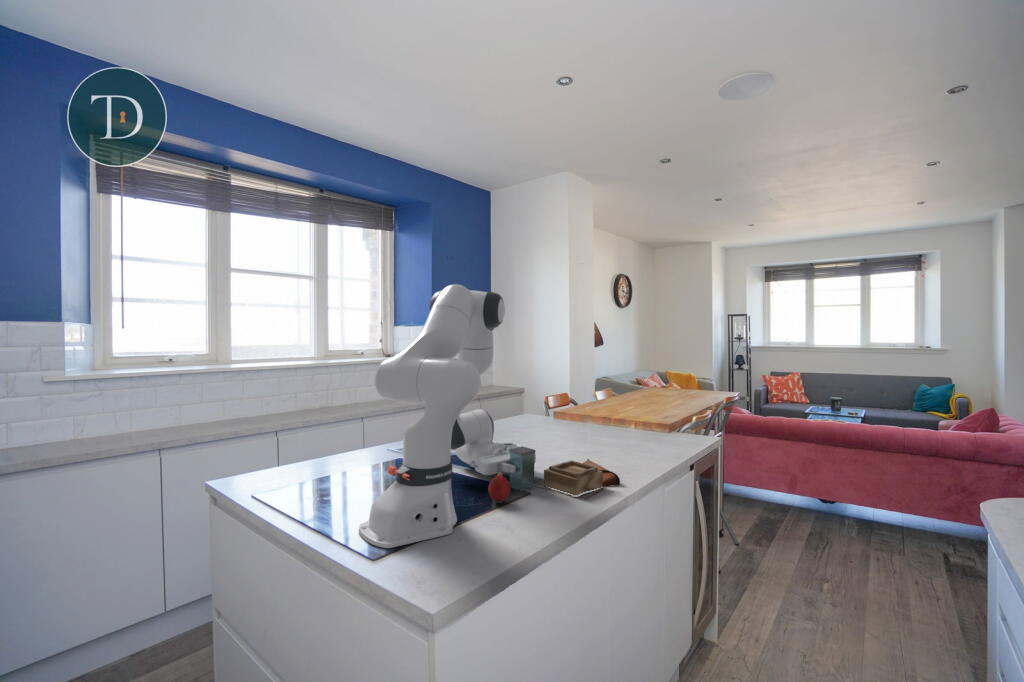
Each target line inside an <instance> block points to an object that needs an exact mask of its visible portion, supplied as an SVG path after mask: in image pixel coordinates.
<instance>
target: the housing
mask: <svg viewBox="0 0 1024 682" xmlns="http://www.w3.org/2000/svg"><path fill="white" fill-rule="evenodd" d="M509 452H510V465H517V466H518V471H517V472H514V473H513V472H509V484H510V487H511V488H512V489H514V490H516V491H519V490H520V492H524V490H525V491H527V490H531V489H533V487H534V488H535V464H534V453H535V454H536V449H535V448H530V447H526V446H523V445H522V446H518V447H517V448H513V449H509Z"/></svg>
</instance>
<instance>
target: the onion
mask: <svg viewBox="0 0 1024 682" xmlns="http://www.w3.org/2000/svg"><path fill="white" fill-rule="evenodd" d="M487 488H488V489H487V490H488V494H489V497H490V498H491V499H492V500H493V501H495V502H496V503H498V502H501V503H503V501H505V500H506V499H507V498H509V496H510V494H511V490H512V489H511V487H510V481H509V480H507V478H506V477H504V476H503V472H501V473H497V474H496V476H495V477H493V478H492V479H491V480H490V482H489V485H488V487H487Z"/></svg>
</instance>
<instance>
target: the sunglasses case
mask: <svg viewBox="0 0 1024 682" xmlns="http://www.w3.org/2000/svg"><path fill="white" fill-rule="evenodd" d="M582 463H583V464H586V465H590V466H593V467H597V468H598V470H600V471H603V486H606V487H612V486H611V485H615V486H620V485H621V484H620V483H621V479H620V476H618V474H616V473H615V472H613V471H612V470H608V469H607V468H605V467H603V466H602V465H599V464H598V463H595V462H593V461H591V460H590V459H589V458H587V460H586V461H583V462H582Z"/></svg>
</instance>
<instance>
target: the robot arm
mask: <svg viewBox="0 0 1024 682" xmlns="http://www.w3.org/2000/svg"><path fill="white" fill-rule="evenodd" d="M505 314H506V306H505V302H504V299H503V297H502V295H500V294H499V293H498V292H493V291H488V292H487V291H481V290H473V289H472V290H471V289H469V288H467V287H466V286H464V285H461V284H457V283H456V284H449V285H447V286H446V287H444V288H443V289H441V290H437V291H436V292H435V293H434V294H433V295H432V296H431V299H430V303H429V313H428V316H427V318H426V321H425V322H424V325H423V326H422V329H421V330H420V333H419V334H418V336H416V338H415V339H414V340H413V341H411V343H410V344H409V345H408V346H406V348H404V349H403V350H401V351H400V352H399V353H398V354H395V355H393V356H392V357H390V358H386V359H385V360H383V361H382V362H381V363H380V364H379V366H378V367H377V369H376V372H375V376H374V382H375V383H374V384H375V388H376V391H377V393H378V395H380V397H381V398H383V399H384V400H385V399H386V400H388V401H389V400H390V401H392V402H395V403H400V404H401V403H402V404H418V405H425V406H424V407H425V410H424V414H423V416H422V417H420V418H418V419H416V420H414V421H413V422H411V423H410V424H408V425H407V426H406V428H405V429H404V431H403V435H402V441H403V442H402V446H403V447H402V449H403V450H402V453H403V454H402V457H403V458H402V459H403V460H402V462H401V465H400V466H399V468H398V467H397V466H394V465H390V466H388V468H387V473H388V474H389V475H391V476H393V477H395V481H394V482H393V483H392V484H391V485H390V486H389V487H388V488H387V489H386V490H385V491H384V492H382V493H381V495H380V496H378V497H377V498H376V499H375V500H374V501H372V504H371V507H370V512H369V519H368V521H364V522H362V523H360V525H359V526H358V534H359V535H360V537H361V538H363V540H365V541H366V542H367V543H369V544H371V545H373V546H375V547H379V548H384V549H392V548H396V547H401V546H404V545H410V544H413V543H416V542H422V541H426V540H430V539H434V538H438V537H439V538H440V537H443V536H447V535H451V534H452V533H453V528H454V526H455V525H456V524H457V522H458V517H457V514H456V511H455V506H454V501H453V500H454V499H453V498H454V497H453V493H452V490H453V489H452V479H453V460H451V459H452V456H451V454H452V453H451V451H454V452H455V455H456V456H457V457H458V458H459V459H460V460H461V461H462V462H464V463H466V464H468V465H469V466H470V467H472V468H474V470H475V472H477V473H479V474H481V475H483V476H492V475H498V474H499V473H504V472H507V473H508V472H509V473H510V472H513V473H514V472H517V471H518V466H517V465H510V452H509V449H513V448H517V447H519V446H517V443H513V442H512V443H511V442H509V443H505V442H504V443H501V442H493V440H494V433H495V432H494V431H495V423H494V419H493V417H492V416H491V415H490V413H488V411H486V410H485V409H483V408H478V409H474V410H470V411H467V412H463V413H461V412H462V411H463V410H464V409H465V408H466V407H467V406H468V405H470V404H472V402H473V401H474V400H475V399H476V398H477V396H478V395H479V393H480V390H481V384H482V379H481V375H483V374H484V373H486V372H487V370H489V369H490V368H491V366H492V362H493V359H494V334H493V330H494V329H496V328H498V327H499V326H501V325H502V323H503V321H504V317H505ZM536 459H537V457H536V452H535V453H534V465H535V464H536V461H537V460H536Z"/></svg>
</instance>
